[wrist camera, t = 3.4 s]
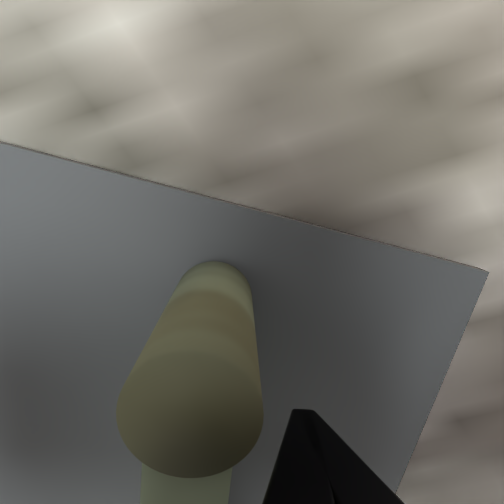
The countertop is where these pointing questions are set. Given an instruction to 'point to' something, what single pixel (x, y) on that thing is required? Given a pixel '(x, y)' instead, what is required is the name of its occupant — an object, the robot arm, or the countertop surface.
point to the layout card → (157, 297)
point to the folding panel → (195, 390)
